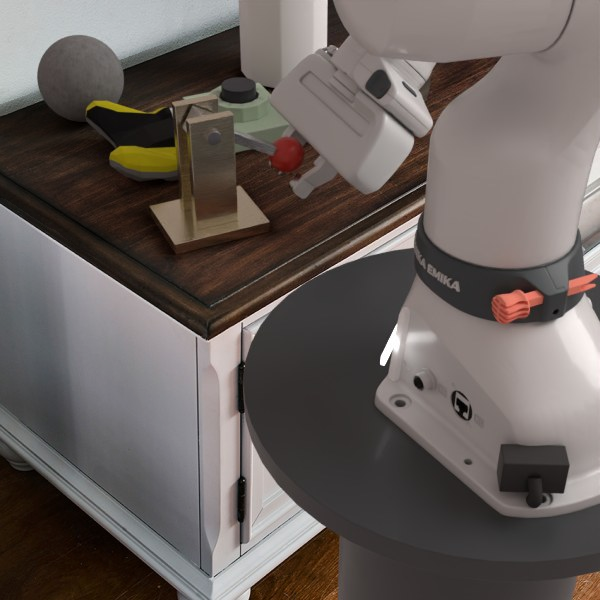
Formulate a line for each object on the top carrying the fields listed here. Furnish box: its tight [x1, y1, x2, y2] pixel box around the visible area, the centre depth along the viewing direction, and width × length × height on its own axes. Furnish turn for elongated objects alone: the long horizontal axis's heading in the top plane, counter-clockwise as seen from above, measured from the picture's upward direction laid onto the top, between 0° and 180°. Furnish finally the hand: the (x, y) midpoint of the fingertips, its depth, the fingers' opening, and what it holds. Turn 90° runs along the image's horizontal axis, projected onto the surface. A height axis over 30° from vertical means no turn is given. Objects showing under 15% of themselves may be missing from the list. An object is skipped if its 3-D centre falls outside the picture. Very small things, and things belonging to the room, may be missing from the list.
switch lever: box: [182, 106, 305, 174], centre depth 102 cm, size 13×4×4 cm, turn 114°
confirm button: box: [220, 77, 256, 104], centre depth 120 cm, size 4×4×2 cm
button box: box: [182, 83, 290, 154], centre depth 121 cm, size 12×10×4 cm
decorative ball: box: [36, 34, 125, 123], centre depth 122 cm, size 10×10×10 cm
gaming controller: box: [86, 101, 178, 182], centre depth 114 cm, size 15×6×10 cm
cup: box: [238, 0, 329, 89], centre depth 130 cm, size 11×11×18 cm
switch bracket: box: [149, 94, 271, 255], centre depth 101 cm, size 10×8×13 cm
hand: (285, 181), depth 106 cm, fingers open, 4 cm apart
